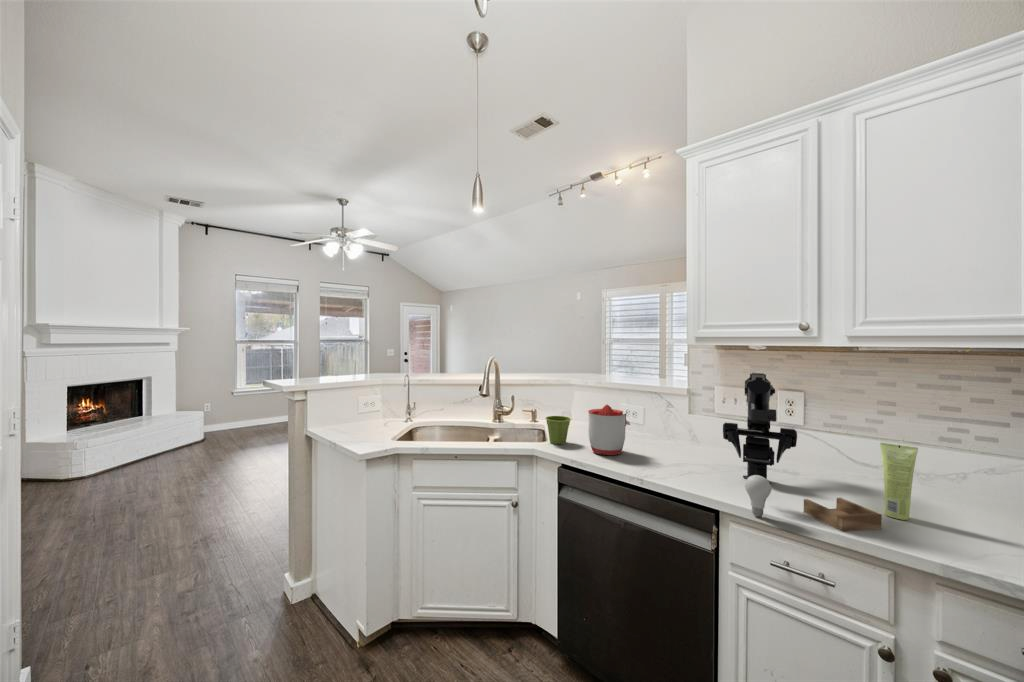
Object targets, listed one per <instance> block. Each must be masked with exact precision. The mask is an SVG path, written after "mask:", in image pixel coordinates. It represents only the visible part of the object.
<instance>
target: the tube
mask: <svg viewBox="0 0 1024 682" xmlns="http://www.w3.org/2000/svg"><path fill="white" fill-rule="evenodd" d="M879 445H880V451H881V457H882V467H883V468H882V469H883V472H882V473H883V490H884V492H883V493H884V503H883V504H884V515H886V516H888V517H890V518H893V519H897V520H900V521H901V520H902V521H907V520H910V513H911V512H910V510H911V498H912V488H913V482H914V481H913V479H914V474H915V473H914V472H915V466H916V460H917V454H918V451H919V447H917V446H909V445H902V444H894V443H888V442H880V444H879Z"/></svg>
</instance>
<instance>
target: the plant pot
mask: <svg viewBox="0 0 1024 682" xmlns="http://www.w3.org/2000/svg"><path fill="white" fill-rule="evenodd" d="M544 419H545V420H546V425H547V432H548V438H549V443H550V444H552V445H556V444H557V445H565V444H566V443H567V437H568V433H569V432H568V431H569V426H570V423H571V420H572V418H571V417H570V416H564V415H550V416H545V417H544Z"/></svg>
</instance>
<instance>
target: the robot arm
mask: <svg viewBox="0 0 1024 682" xmlns="http://www.w3.org/2000/svg"><path fill="white" fill-rule="evenodd" d="M775 394H776V389H775V387H773V384H771V381H770V380H769V379H768V378H767V374H765V373H764V372H762V373H760V372H759V373H758V372H757V373H756V372H752V373H749V377H748V378H747V379H746V380H745V381H744V396H746V402H747V420H746V423H747V425H746V426H747V428H741V427H739V426H738V425H739V424H738V423H735V422H724V423H722V437H723V439H724V440H726V441H727V442H729V443H731V444H732V446H733V447H734V449H735V451H736V453H737V455H738V458H740V459H741V458H742V462H743V463H746V464H747V468H746V469H747V473H746V474H747V475H743V476H742V478H744V479H745V481H746V480H747V478H748V477H750V476H753V475H759V476H762V477H764V478H766V479H767V480H768V481H769V483H770V485H772V481H770V480H769V479H768V466H770V467H772V466H774V465H775V461H776V463H777V464H779V463H780V460H781V458H782V456H783V454H784V453H785V452H786V450H790V449H791V448H796V447H797V440H798V432H797V430H796V429H795V428H787V427H780V429H779V431H778V432H777V431H770V430H771V422H772V423H774V422H777V410H776V409H774V408H773V409H771V408H770V400H771V397H773V396H774V395H775ZM740 436H746V437H745V443H743V444H742V449H741V441H740ZM770 440H778V445H777V450H776V451H777V452H776V460H775V451H774V449H773V447H772V446H770V444H771V443H770V442H771V441H770Z"/></svg>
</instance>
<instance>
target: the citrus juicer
mask: <svg viewBox="0 0 1024 682" xmlns="http://www.w3.org/2000/svg"><path fill="white" fill-rule="evenodd" d="M587 412H588V439H589V444H590V449H591V451H592V452H593V453H596V454H597V455H599V454H603V456H618V455H620V454H621V453H622V451H623V449H624V445H625V440H626V427H627V426H631V424H630V421H628V420H627V413H624V412H623V410H622V409H621V410H619V409H613V408H612V407H611V406H610V405H609V404H605V405H604V406H603V407H602V408H593V409H589V410H587ZM617 454H618V455H617Z"/></svg>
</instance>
